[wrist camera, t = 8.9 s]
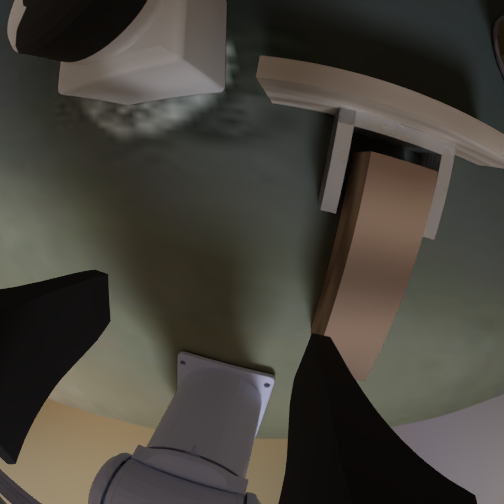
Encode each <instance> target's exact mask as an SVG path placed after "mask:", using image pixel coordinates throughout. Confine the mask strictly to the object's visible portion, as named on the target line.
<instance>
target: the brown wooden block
mask: <svg viewBox="0 0 504 504" xmlns="http://www.w3.org/2000/svg"><path fill="white" fill-rule="evenodd" d="M437 174H438V172H437V171H434V170H431V169H428V168H425V167H422V166H419V165H416V164H413V163H410V162H407V161H404V160H400V159H397V158H393V157H390V156H386V155H383V154H379V153H376V152H372V151H368V152H354V153H353V155H352V161H351V166H350V172H349V177H348V182H347V187H346V192H345V197H344V202H343V206H342V211H341V216H340V220H339V224H338V229H337V233H336V237H335V241H334V246H333V250H332V254H331V258H330V262H329V266H328V269H327V273H326V277H325V281H324V284H323V288H322V292H321V295H320V299H319V302H318V306H317V309H316V313H315V316H314V320H313V323H312V326H311V335H312V333H315V334H319V335H324V336H329V337H331V339H332V340H333V342H334V344H335V346H336V347H337V349H338V351H339V353H340V355H341V356H342V358H343V360H344V362H345V363H346V365H347V367H348V369H349V370H350V372H351V374H352V375H353V377H354V379H355V380H361V381H365V380H366V379H367V377H368V375H369V373H370V371H371V369H372V367H373V365H374V363H375V361H376V358H377V356H378V354H379V352H380V350H381V348H382V346H383V343H384V341H385V339H386V337H387V334H388V332H389V330H390V328H391V325H392V323H393V320H394V318H395V316H396V313H397V311H398V308H399V306H400V303H401V300H402V298H403V295H404V292H405V290H406V287H407V284H408V281H409V278H410V276H411V273H412V270H413V267H414V264H415V260H416V257H417V254H418V251H419V248H420V244H421V241H422V237H423V234H424V230H425V226H426V223H427V219H428V215H429V211H430V207H431V203H432V198H433V194H434V189H435V184H436V179H437Z"/></svg>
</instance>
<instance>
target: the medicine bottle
mask: <svg viewBox="0 0 504 504" xmlns="http://www.w3.org/2000/svg"><path fill="white" fill-rule="evenodd" d="M226 17H227V1H226V0H15V1H14V4H13V7H12V10H11V13H10V16H9V20H8V29H7V33H8V38H9V40H10V43H11V45H12V48H13V49H14V50H15V51H16V52H18V53H22V54H28V55H33V56H38V57H43V58H48V59H53V60H57V61H61V65H60V73H59V83H58V92H59V93H60V94H62V95H69V96H77V97H84V98H90V99H97V100H103V101H108V102H114V103H119V104H124V105H133V104H138V103H143V102H148V101H154V100H160V99H167V98H174V97H181V96H189V95H197V94H207V93H219V92H222V91H223V90H224V89H225V56H226Z"/></svg>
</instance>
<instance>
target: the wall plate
mask: <svg viewBox="0 0 504 504" xmlns="http://www.w3.org/2000/svg"><path fill="white" fill-rule="evenodd" d="M256 78H257V80H258V81H259V83H260V84H261V86H262V87H263V89H264V91H265V92H266V94H267V95H268V97H269V99H270V100H271V102H272V103H275V104H281V105H287V106H293V107H298V108H303V109H308V110H313V111H318V112H323V113H327V114H331V115H335V114H336V112H337V111H338V110H339V108H340V107H343V108H347V109H351V110H355V111H359V112H362V113H366V114H370V115H373V116H376V117H380V118H383V119H386V120H389V121H393V122H396V123H399V124H402V125H405V126H407V127H410V128H413V129H416V130H419V131H421V132H424V133H427V134H429V135H432V136H434V137H437V138H439V139H442V140H444V141H446V142H449V143H451V144H454V145H456V149H455V155H457V156H459V157H462V158H464V159H466V160H468V161H471V162H473V163H475V164H477V165H483V166H490V167H497V168H504V134H502V133H501V132H499V131H497V130H495V129H494V128H492V127H490V126H488V125H487V124H485V123H483V122H481V121H479V120H477V119H475V118H473V117H471V116H469V115H467V114H465V113H463V112H461V111H459V110H457V109H455V108H453V107H451V106H448V105H446V104H444V103H442V102H439V101H437V100H435V99H432V98H430V97H427V96H425V95H422V94H420V93H417V92H414V91H412V90H409V89H406V88H404V87H401V86H398V85H395V84H392V83H389V82H386V81H382V80H379V79H376V78H373V77H369V76H366V75H362V74H358V73H355V72H351V71H347V70H343V69H338V68H334V67H329V66H325V65H320V64H315V63H309V62H304V61H298V60H292V59H285V58H278V57H270V56H261V55H260V59H259V64H258V69H257V74H256Z"/></svg>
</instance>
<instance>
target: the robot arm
mask: <svg viewBox="0 0 504 504" xmlns="http://www.w3.org/2000/svg"><path fill="white" fill-rule="evenodd" d="M109 322H110V307H109V289H108V274H106V273H103V272H100V271H97V270H89V271H83V272H78V273H74V274H69V275H65V276H61V277H57V278H53V279H49V280H45V281H41V282H36V283H32V284H27V285H22V286H18V287H12V288H6V289H0V457H1V458H2V459H3V460H4V461H5V462H6V463H7V464H16V461H17V458H18V455H19V453H20V450H21V448H22V445H23V442H24V439H25V438H26V435H27V433H28V431H29V429H30V427H31V425H32V423H33V421H34V419H35V418H36V416H37V414H38V412H39V411H40V409H41V407H42V406H43V404H44V402H45V401H46V399H47V398H48V396H49V395H50V393H51V392H52V390H53V389H54V387H55V386H56V385H57V384H58V382H59V381H60V380H61V379H62V377H63V376H64V375H65V374H66V373H67V372H68V371H69V370H70V369H71V368H72V367H73V366H74V364H75V363H76V362H77V361H78V360H79V359H80V358H81V357H82V356H83V355H84V354H85V353H86V352H87V351H88V350H89V349H90V347H91V346H92V345H93V344H94V343H95V342H96V341H97V340H98V338H99V337H100V335H101V334H102V333H103V331H104V330H105V328H106V327H107V325H108V324H109ZM183 361H185V362H183ZM274 382H275V377H274V376H273V375H272V374H268V373H264V372H259V371H255V370H250V369H246V368H242V367H238V366H234V365H230V364H227V363H223V362H219V361H215V360H212V359H208V358H205V357H201V356H198V355H194V354H191V353H188V352H184V351H182V352H180V353H179V354H178V363H177V391H176V393H175V395H174V397H173V399H172V401H171V402H170V404H169V406H168V408H167V410H166V412H165V414H164V415H163V417H162V419H161V421H160V423H159V425H158V426H157V428H156V430H155V432H154V434H153V436H152V438H151V440H150V441H149V443H148V445H147V447H143V446H141V445H138V446H137V448H136V450H135V452H134V453H133V455H131V454H129V453H121V454H119V455H117V456H115V457H112V458H110V459H109V460H108V461H107V462H106V463H105V464H104V465H103V466H102V467H101V469H100V470H99V472H98V473H97V475H96V477H95V479H94V481H93V483H92V486H91V489H90V493H89V500H88V504H261V503H260V501H259V500H258V499H257V496H256V495H255V494H254V493H249V492H247V493H246V494H245V492H246V488H247V484H248V479H245V476H246V473H247V468H248V464H249V460H250V456H251V451H252V447H253V443H254V439H255V438H256V435H257V432H258V429H259V427H260V424H261V421H262V418H263V415H264V412H265V409H266V406H267V403H268V401H269V398H270V395H271V391H272V388H273V385H274ZM265 383H269V384H265ZM0 493H1V494H2V495H3V496H4V497H5V498H6V499H7V500H8V501H9V502H11V503H12V504H41V503H40V502H38V501H37V500H36V499H34V498H33V497H32V496H30V495H29V494H28V493H27V492H25V491H24V490H23V489H22V488H21V487H20V486H18V485H17V484H16V483H15V482H14V481H13V480H11V479H10V478H9V477H8V476H7V475H6V474H5V473H4V472H2V470H1V469H0ZM0 504H6V503H5V502H4V500H3V499H2V498H1V497H0ZM279 504H477V501H476V497H475V495H474V494H472V493H470V492H469V491H467V490H465V489H464V488H462V487H460V486H459V485H457V484H455V483H454V482H452V481H450V480H449V479H447V478H446V477H444V476H443V475H442V474H440V473H439V472H438V471H436V470H435V469H434V468H433V467H431V466H430V465H429V464H427V463H426V462H425V461H424V460H423V459H422V458H420V457H419V456H418V455H417V454H416V453H415V452H414V451H413V450H412V449H411V448H410V447H409V446H408V445H406V444H405V443H404V442H403V441H402V440H401V439H400V437H399V436H398V435H397V434H396V433H395V432H394V431H393V430H392V429H391V428H390V426H389V425H388V424H387V423H386V422H385V420H384V419H383V418H382V417H381V416H380V414H379V413H378V412H377V411H376V409H375V408H374V407H373V405H372V404H371V402H370V401H369V400H368V398H367V397H366V395H365V394H364V392H363V391H362V389H361V388H360V386H359V385H358V383H357V382H356V380H355V379H354V377H353V375H352V374H351V372H350V370H349V369H348V367H347V365H346V363H345V362H344V360H343V358H342V356H341V355H340V353H339V351H338V349H337V347H336V346H335V344H334V342H333V340H332V339H331V337H329V336H324V335H319V334H315V333H312V335H311V337H310V340H309V342H308V345H307V348H306V350H305V353H304V355H303V358H302V360H301V363H300V365H299V368H298V370H297V373H296V375H295V378H294V382H293V388H292V394H291V400H290V410H289V430H288V449H287V462H286V471H285V476H284V481H283V486H282V491H281V495H280V500H279Z"/></svg>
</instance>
